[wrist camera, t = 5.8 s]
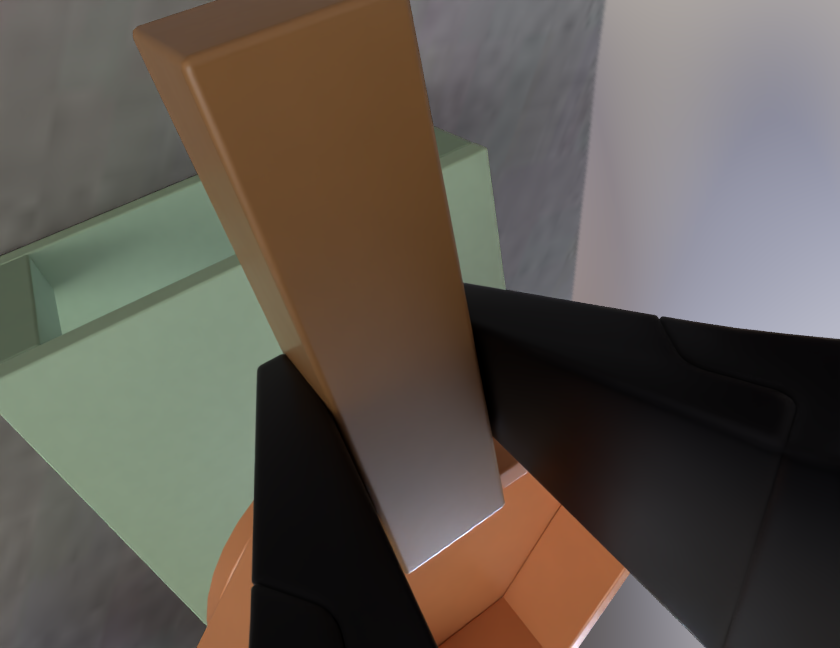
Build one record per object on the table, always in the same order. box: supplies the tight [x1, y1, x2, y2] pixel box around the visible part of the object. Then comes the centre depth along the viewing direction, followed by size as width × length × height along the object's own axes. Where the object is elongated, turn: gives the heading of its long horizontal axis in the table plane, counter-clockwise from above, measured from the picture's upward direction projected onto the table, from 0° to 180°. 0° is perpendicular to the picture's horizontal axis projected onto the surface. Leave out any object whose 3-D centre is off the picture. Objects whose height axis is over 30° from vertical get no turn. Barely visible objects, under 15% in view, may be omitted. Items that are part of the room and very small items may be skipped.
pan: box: [133, 0, 630, 648], centre depth 10 cm, size 16×9×3 cm, turn 11°
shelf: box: [0, 126, 506, 626], centre depth 19 cm, size 12×12×6 cm
